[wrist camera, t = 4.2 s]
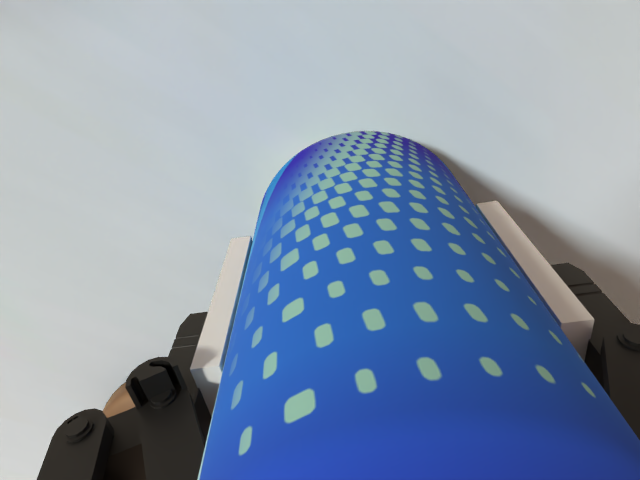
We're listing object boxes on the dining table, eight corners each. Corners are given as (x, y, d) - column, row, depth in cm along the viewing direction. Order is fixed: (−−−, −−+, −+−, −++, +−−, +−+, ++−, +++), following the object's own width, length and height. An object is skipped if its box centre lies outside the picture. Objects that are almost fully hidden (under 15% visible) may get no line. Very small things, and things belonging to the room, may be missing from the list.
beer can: (470, 120, 18) (1052, 649, 4) (441, 293, 22) (663, 842, 8) (254, 121, 17) (27, 668, 4) (267, 295, 22) (186, 853, 8)
